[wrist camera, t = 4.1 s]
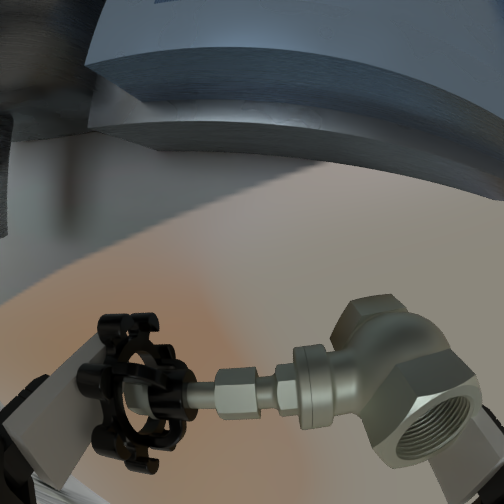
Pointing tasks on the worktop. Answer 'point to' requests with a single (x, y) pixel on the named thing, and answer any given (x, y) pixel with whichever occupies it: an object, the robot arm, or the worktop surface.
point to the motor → (265, 81)
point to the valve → (291, 386)
